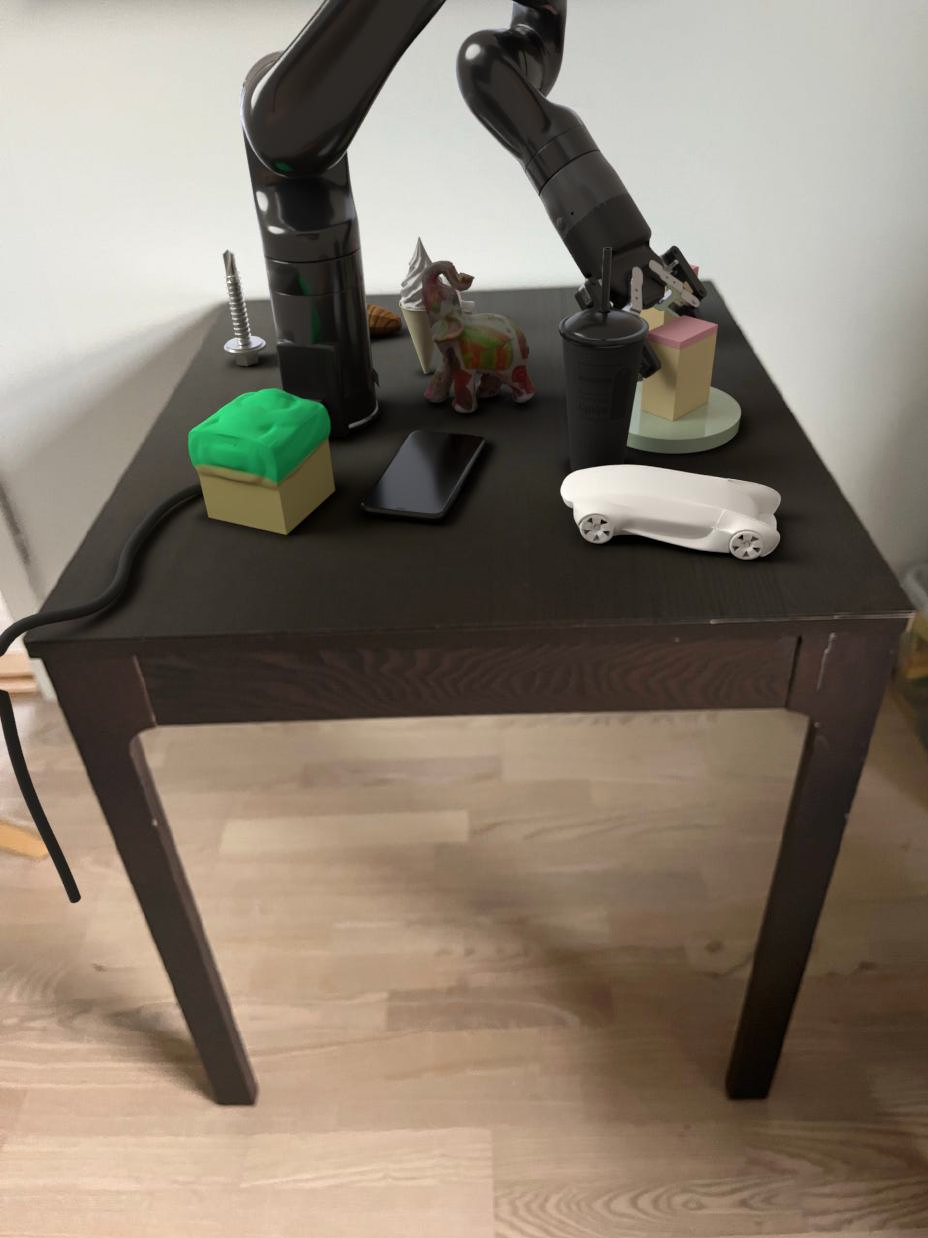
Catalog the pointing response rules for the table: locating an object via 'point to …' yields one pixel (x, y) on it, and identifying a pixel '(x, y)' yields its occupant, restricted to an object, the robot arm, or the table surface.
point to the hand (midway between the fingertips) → (681, 360)
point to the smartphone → (424, 476)
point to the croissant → (382, 320)
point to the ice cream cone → (417, 306)
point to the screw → (240, 318)
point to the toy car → (674, 508)
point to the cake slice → (680, 367)
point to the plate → (685, 426)
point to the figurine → (471, 345)
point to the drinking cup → (601, 378)
